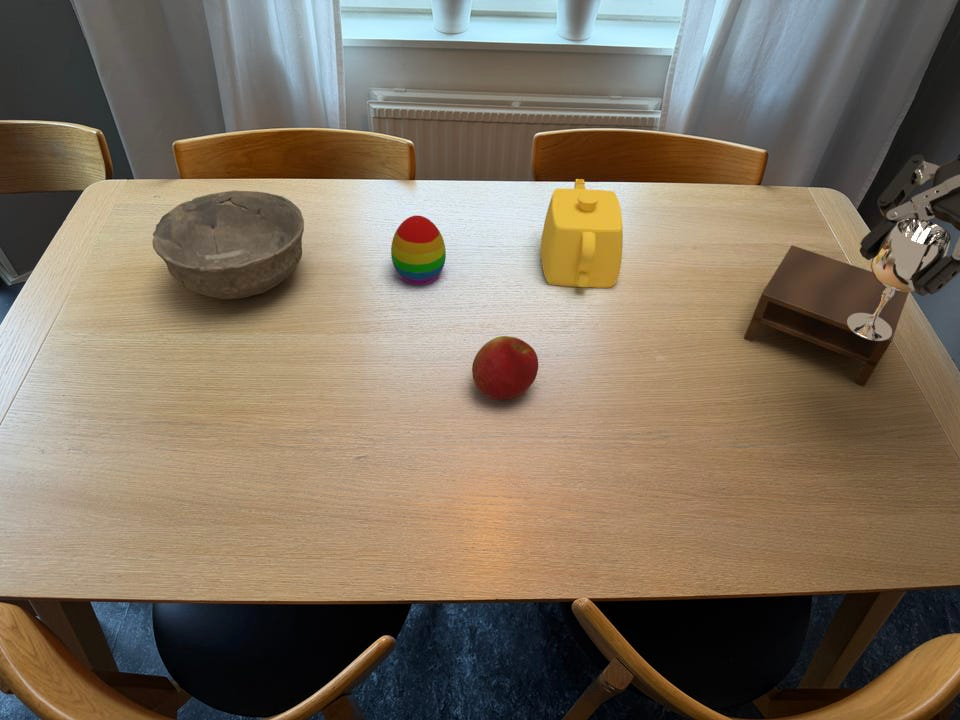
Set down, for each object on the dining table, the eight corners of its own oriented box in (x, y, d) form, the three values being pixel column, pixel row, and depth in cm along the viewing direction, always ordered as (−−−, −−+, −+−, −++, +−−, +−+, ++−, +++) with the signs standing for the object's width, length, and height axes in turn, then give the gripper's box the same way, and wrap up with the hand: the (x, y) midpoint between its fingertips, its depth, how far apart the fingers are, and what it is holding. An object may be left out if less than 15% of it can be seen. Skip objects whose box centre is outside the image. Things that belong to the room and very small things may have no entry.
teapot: (538, 223, 113) (545, 159, 104) (611, 226, 112) (623, 162, 104) (540, 296, 98) (547, 228, 90) (623, 300, 98) (637, 233, 90)
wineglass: (871, 305, 73) (923, 210, 65) (910, 338, 69) (971, 243, 61) (828, 315, 72) (876, 220, 63) (866, 350, 68) (922, 254, 59)
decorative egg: (391, 290, 99) (386, 233, 92) (394, 258, 104) (389, 203, 97) (446, 290, 99) (444, 233, 92) (446, 258, 105) (445, 203, 98)
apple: (527, 418, 81) (532, 372, 75) (464, 403, 82) (465, 357, 77) (540, 375, 86) (546, 330, 81) (481, 363, 88) (482, 317, 82)
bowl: (343, 274, 101) (334, 218, 94) (235, 346, 89) (216, 288, 82) (253, 228, 110) (239, 174, 103) (143, 289, 98) (119, 231, 91)
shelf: (885, 329, 94) (911, 284, 89) (863, 386, 86) (891, 341, 80) (773, 288, 101) (791, 244, 95) (743, 338, 92) (761, 293, 87)
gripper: (965, 81, 62) (824, 219, 66) (1127, 147, 53) (950, 301, 57) (972, 125, 67) (841, 250, 72) (1120, 192, 58) (959, 330, 63)
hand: (890, 272), depth 65 cm, fingers closed on wineglass, 5 cm apart
